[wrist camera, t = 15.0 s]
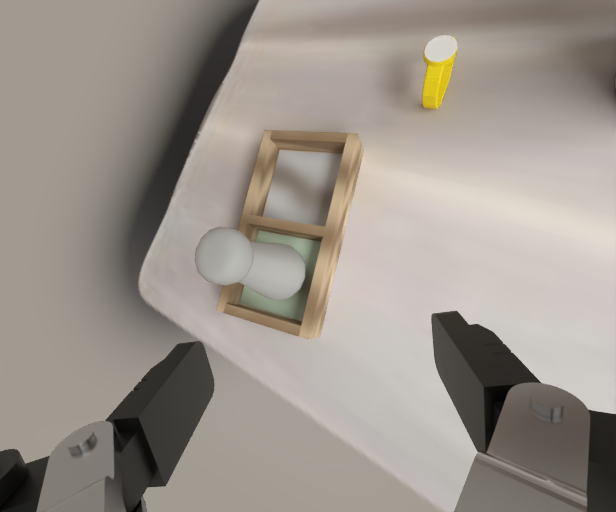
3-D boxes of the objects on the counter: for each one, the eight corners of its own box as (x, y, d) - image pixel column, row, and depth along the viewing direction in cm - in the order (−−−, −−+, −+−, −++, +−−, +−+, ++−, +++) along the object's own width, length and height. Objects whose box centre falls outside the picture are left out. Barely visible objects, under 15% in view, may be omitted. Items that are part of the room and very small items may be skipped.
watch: (433, 69, 34) (435, 17, 29) (460, 70, 33) (468, 17, 28) (415, 117, 33) (414, 74, 28) (442, 120, 32) (446, 76, 27)
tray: (275, 145, 39) (262, 130, 36) (363, 150, 35) (357, 133, 32) (232, 310, 37) (213, 309, 34) (319, 337, 33) (308, 339, 30)
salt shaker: (254, 279, 35) (167, 260, 24) (284, 238, 35) (211, 198, 23) (291, 312, 33) (214, 310, 21) (323, 269, 33) (264, 243, 21)
